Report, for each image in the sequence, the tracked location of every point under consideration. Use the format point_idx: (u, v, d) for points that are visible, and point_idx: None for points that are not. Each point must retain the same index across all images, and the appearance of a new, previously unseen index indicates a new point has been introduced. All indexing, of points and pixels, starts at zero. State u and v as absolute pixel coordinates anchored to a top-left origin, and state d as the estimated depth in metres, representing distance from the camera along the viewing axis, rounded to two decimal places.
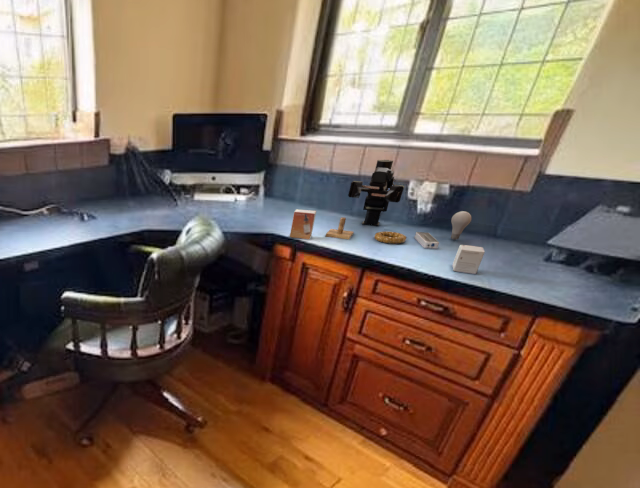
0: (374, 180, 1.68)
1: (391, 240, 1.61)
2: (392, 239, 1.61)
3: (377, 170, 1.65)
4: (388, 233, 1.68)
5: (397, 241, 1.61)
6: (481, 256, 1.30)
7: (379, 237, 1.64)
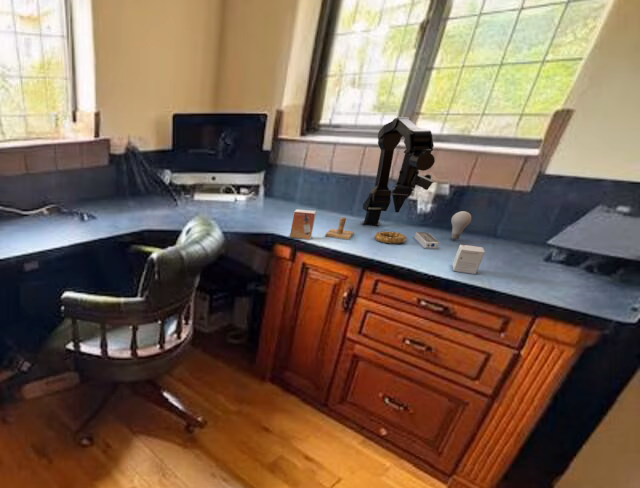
0: None
1: (391, 240, 1.61)
2: (392, 239, 1.61)
3: (428, 187, 1.55)
4: (388, 233, 1.68)
5: (397, 241, 1.61)
6: (481, 256, 1.30)
7: (379, 237, 1.64)
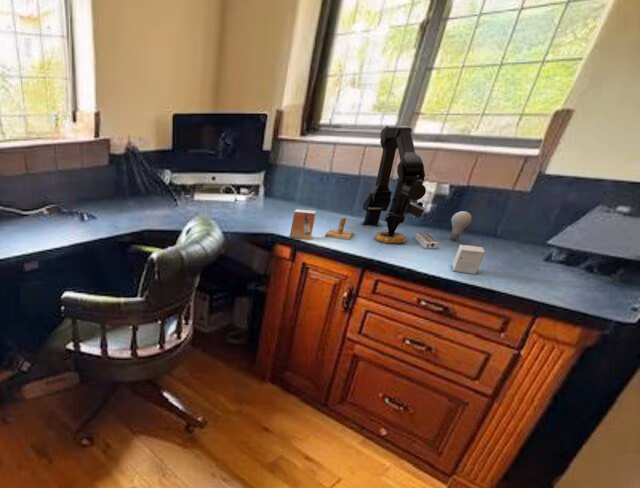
0: None
1: (391, 240, 1.61)
2: (392, 239, 1.61)
3: (420, 215, 1.59)
4: (388, 233, 1.68)
5: (397, 241, 1.61)
6: (481, 256, 1.30)
7: (379, 237, 1.64)
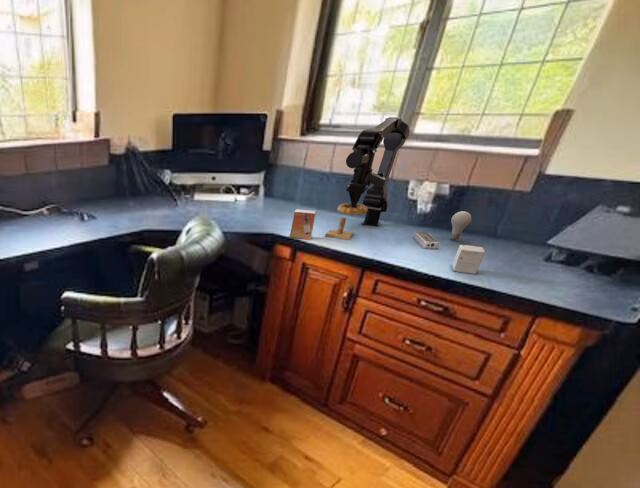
0: None
1: (353, 211, 1.63)
2: (353, 210, 1.63)
3: (381, 185, 1.61)
4: (351, 204, 1.70)
5: (358, 212, 1.63)
6: (481, 256, 1.30)
7: (341, 208, 1.66)
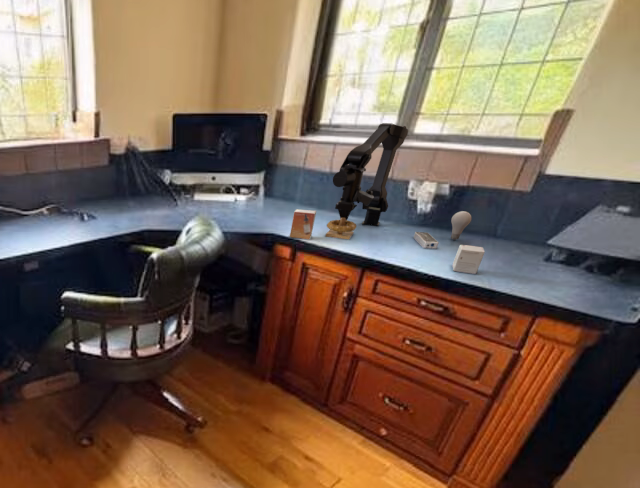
0: None
1: (341, 229, 1.68)
2: (342, 228, 1.67)
3: (369, 203, 1.66)
4: None
5: (347, 229, 1.67)
6: (481, 256, 1.30)
7: (330, 226, 1.70)
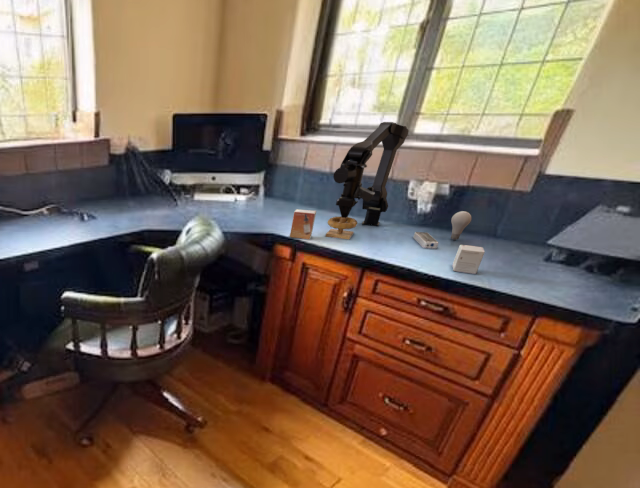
0: None
1: (342, 226, 1.67)
2: (342, 225, 1.67)
3: (370, 199, 1.65)
4: None
5: (347, 227, 1.67)
6: (481, 256, 1.30)
7: (331, 223, 1.70)
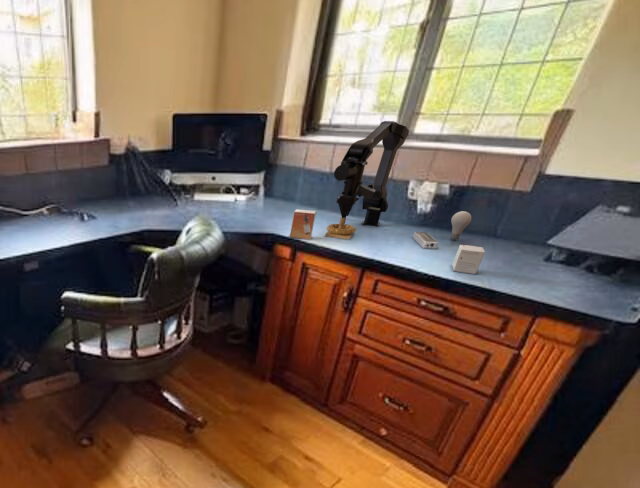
0: None
1: (341, 231, 1.69)
2: (341, 231, 1.69)
3: (370, 197, 1.65)
4: None
5: (346, 232, 1.69)
6: (481, 256, 1.30)
7: (330, 229, 1.72)
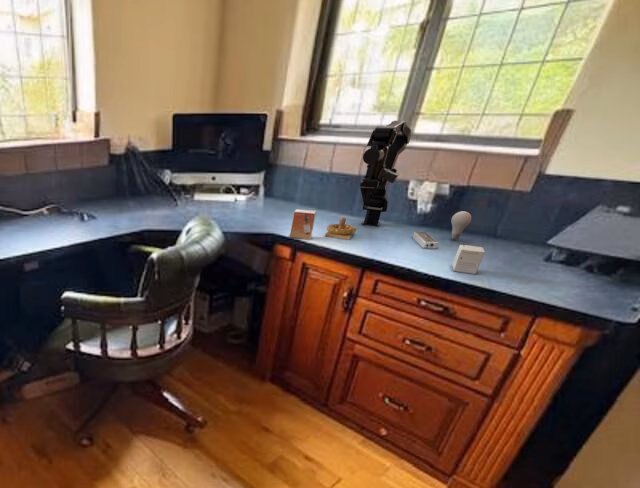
0: None
1: (341, 231, 1.69)
2: (341, 231, 1.69)
3: None
4: None
5: (346, 232, 1.69)
6: (481, 256, 1.30)
7: (330, 229, 1.72)
